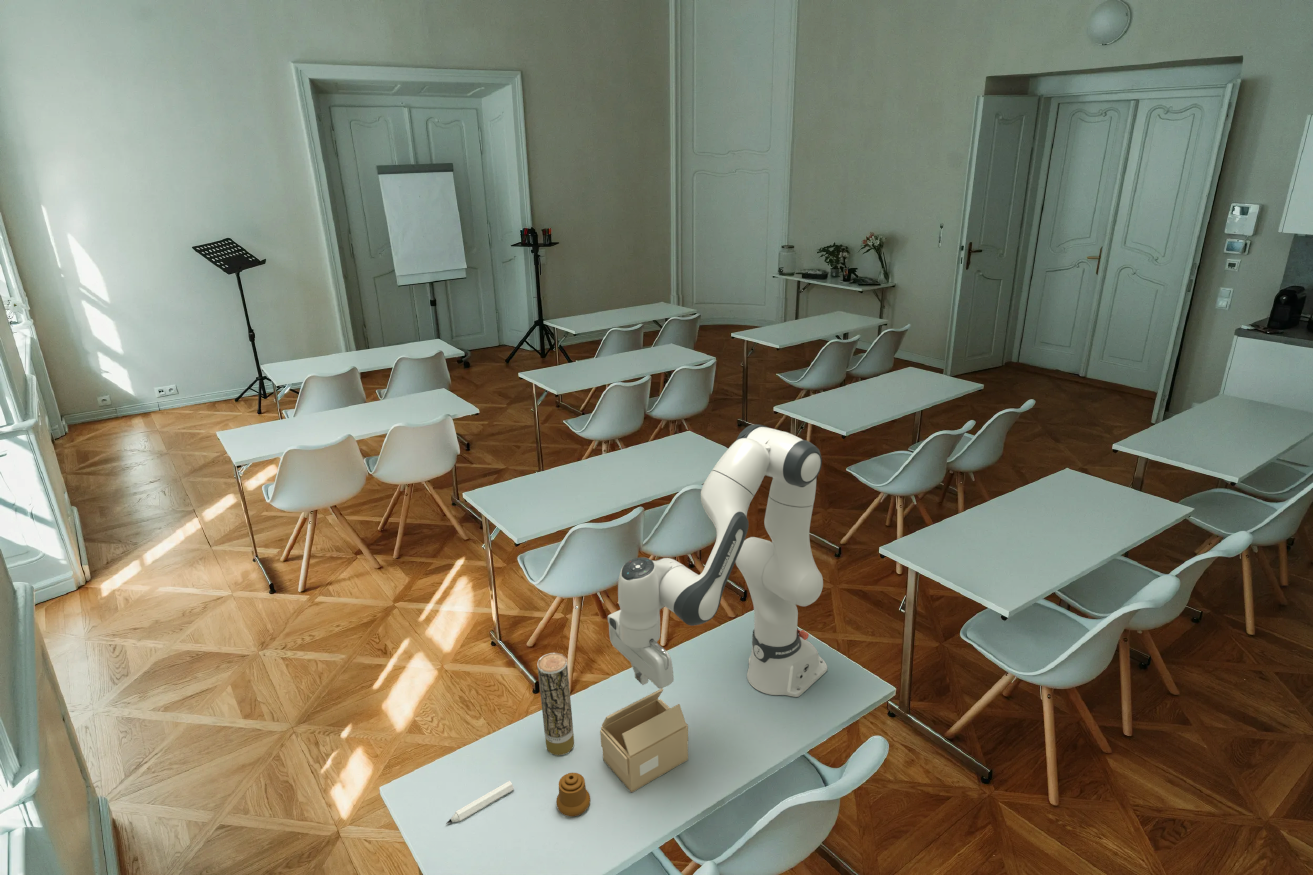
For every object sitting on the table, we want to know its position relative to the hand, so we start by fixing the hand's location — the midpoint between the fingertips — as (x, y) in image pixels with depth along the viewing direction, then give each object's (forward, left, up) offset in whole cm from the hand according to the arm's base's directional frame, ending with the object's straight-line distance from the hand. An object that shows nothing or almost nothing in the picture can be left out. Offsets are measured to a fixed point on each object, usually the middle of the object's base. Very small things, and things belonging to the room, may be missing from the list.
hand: (641, 680), depth 173 cm
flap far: (0, -6, -13) cm, 14 cm away
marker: (+37, -11, -24) cm, 45 cm away
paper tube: (+14, -16, -24) cm, 32 cm away
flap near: (0, +6, -13) cm, 14 cm away
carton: (0, 0, -23) cm, 23 cm away
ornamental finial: (+20, +1, -24) cm, 31 cm away
